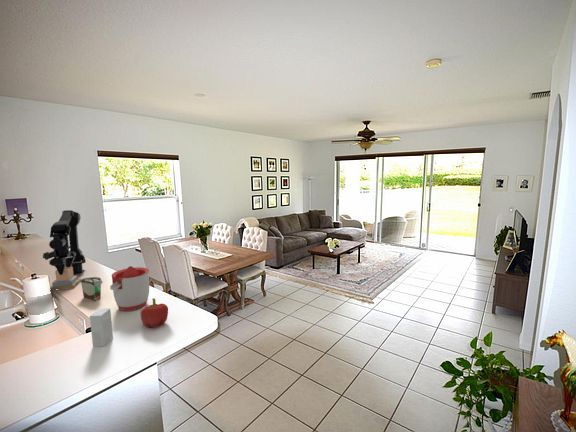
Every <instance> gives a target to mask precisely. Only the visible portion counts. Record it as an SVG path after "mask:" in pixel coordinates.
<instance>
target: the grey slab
mask: <svg viewBox="0 0 576 432" xmlns="http://www.w3.org/2000/svg"><path fill="white" fill-rule="evenodd" d="M77 279H78V276H77V275H74V277H72V278H71V279H70V280H66V281H56V279H55V280H53V281H52V282H51V286H52V287H57V286H66V285H73V283H74V282H75V281H76V280H77Z"/></svg>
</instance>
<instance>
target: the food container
mask: <svg viewBox="0 0 576 432" xmlns="http://www.w3.org/2000/svg"><path fill="white" fill-rule="evenodd" d="M80 279H81V282H80V284H81V289H82V296H83V298H84V299H86V300H89V301H93V302H97V301H99V300H100V299H101V298H102V297H101V295H102V284H103V279H102V278H101V277H99V276H92V277H84V278H80Z"/></svg>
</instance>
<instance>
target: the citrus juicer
mask: <svg viewBox="0 0 576 432" xmlns="http://www.w3.org/2000/svg"><path fill="white" fill-rule="evenodd" d="M149 272H150V269H149V268H146V267H141V266H140V267H139V266H138V267H134V266H131V265H130V266H128V267H127V268H123V269H121V270H117V271H114V272H113V273H112V274H111V276H110V277H111V280H112V281H111V282H112V284H111V285H110V290H111V291H112V293H113V298H114V302H115V303H116V306H117V308H118V309H119V310H121V311H125V312H126V311H130V310H132V311H134V310H138V309H141V308H144V307H145V306H146V305H147V303H148V300H149V297H150V296H149V295H150V281H149V280H150V277H149Z"/></svg>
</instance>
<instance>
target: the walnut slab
mask: <svg viewBox="0 0 576 432" xmlns="http://www.w3.org/2000/svg"><path fill="white" fill-rule="evenodd" d="M81 279H82V278H77V280H76V281H75V282H74V283H73V285H66V286H57V287H52V285H51V286H50V287H51V291H57V290H56V289H62V290H69V289H75V287H77V286H78V285H79V284H81Z"/></svg>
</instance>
